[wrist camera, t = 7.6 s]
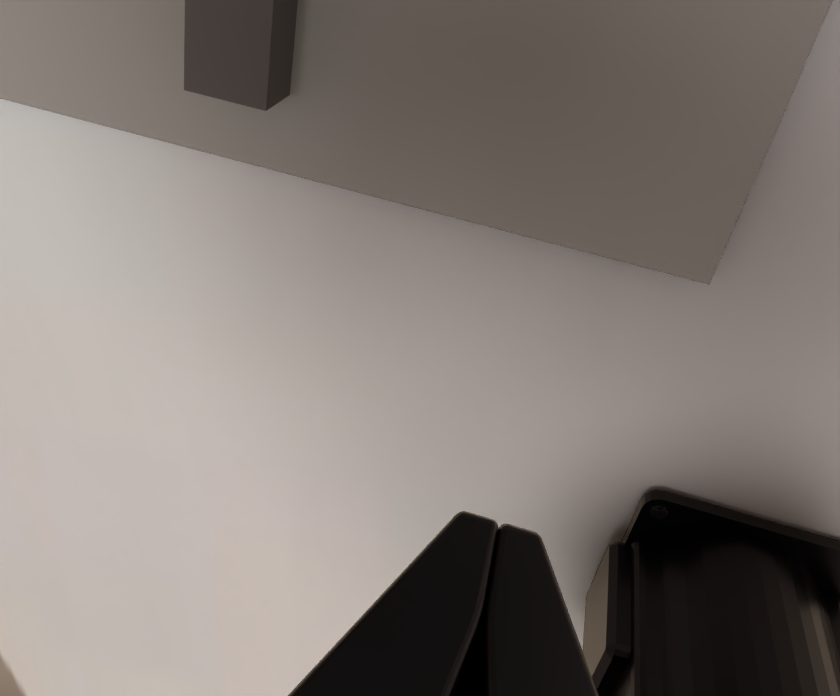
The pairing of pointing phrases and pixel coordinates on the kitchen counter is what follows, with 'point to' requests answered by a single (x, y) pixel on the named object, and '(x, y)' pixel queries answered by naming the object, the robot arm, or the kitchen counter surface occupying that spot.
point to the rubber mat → (450, 102)
